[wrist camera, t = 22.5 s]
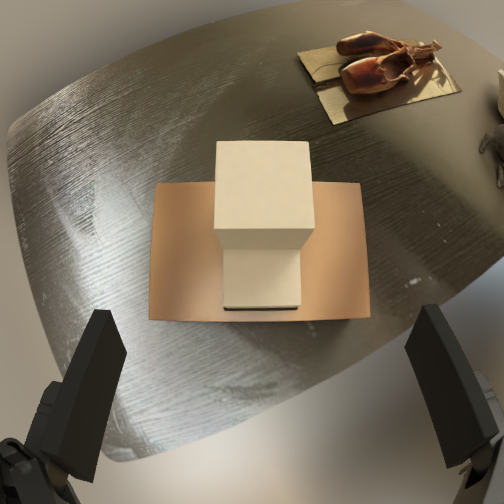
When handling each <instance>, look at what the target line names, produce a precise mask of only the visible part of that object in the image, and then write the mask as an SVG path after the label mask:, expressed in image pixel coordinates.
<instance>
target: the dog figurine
mask: <svg viewBox="0 0 504 504" xmlns="http://www.w3.org/2000/svg"><path fill="white" fill-rule="evenodd" d="M490 141H492V142H493V143H494V144H497V147H498V150H499V153H500V155H501V158H502V160H503V161H504V124H501V125H499V126H498V127H496V128H495V130H494V131H493V132H491V133H486V134H485V137H484V140H483V142H482V144H481V147H480V148H479V151H480V152H481V153H484V151H485V147H486V146H487V144H488V143H489V142H490ZM497 185H498V187H499V188H501V186H504V168H503V167H502V166H501V165H499V169H498V180H497Z"/></svg>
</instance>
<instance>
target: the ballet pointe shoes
mask: <svg viewBox="0 0 504 504" xmlns="http://www.w3.org/2000/svg"><path fill="white" fill-rule="evenodd" d="M440 48H442V47H441V46H440V44H439V43H438V42H437V41H435V40H433V44H423V43H422V42H421V43H420V42H418V41H417V40H416V39H410V40H408V39H404V40H393V39H390V38H387V37H385V36H383V35H379V34H377V33H375V32H371V31H364V32H363V33H360V34H353V36H350V37H347V38H345V39H342V40H340V41H338V43H337V45H336V46H334V47H333V46H332V47H327V48H321V49H318V50H311V51H306V52H305V51H304V52H301V53H297V54H298V55H299V56H300V59H301V60H302V63H304V66H306V68H307V70H308V71H309V73H310V74H311V76H312V77H313V79H314V80H315V81H316V83H315V84H314V85H313V89H314V91H315V92H317V95H319V96H320V97H318V98H320V101H321V102H322V104H323V107H324V108H325V110H326V112H327V114H328V116H329V118H330V120H332V122H333V125H335V124H338V123H341V122H344V121H348V120H352V119H355V118H358V117H359V116H360V117H361V116H364V115H367V114H371V113H375V112H377V111H380V110H384V109H385V110H386V109H390V108H391V107H392V108H394V107H397V106H399V105H402V104H407V103H412V102H414V101H415V102H416V101H419V100H423V99H428V98H432V97H437V96H440V95H445V94H451V93H454V92H458V91H462V89H461V88H460V87H459V86H458V84H457V83H456V81H455V80H454V79H453V77H452V76H451V75H450V74H449V73H448V72H447V70H445V68H444V67H443V65H442V64H441V63H440V62H439V61H438V59H437V58H436V57H435V56H434V54H433V52H434V51H437V50H439V49H440ZM310 88H311V87H310Z"/></svg>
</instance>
